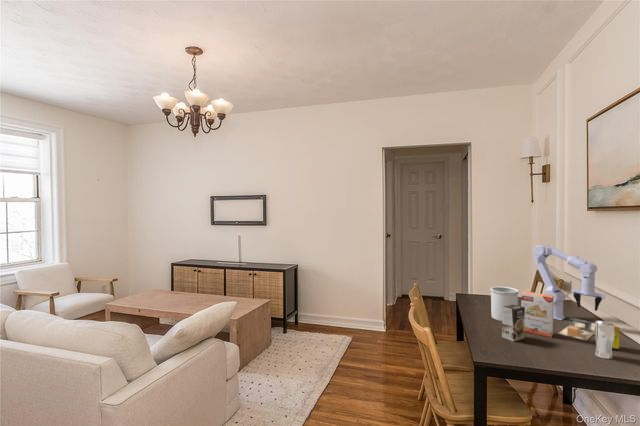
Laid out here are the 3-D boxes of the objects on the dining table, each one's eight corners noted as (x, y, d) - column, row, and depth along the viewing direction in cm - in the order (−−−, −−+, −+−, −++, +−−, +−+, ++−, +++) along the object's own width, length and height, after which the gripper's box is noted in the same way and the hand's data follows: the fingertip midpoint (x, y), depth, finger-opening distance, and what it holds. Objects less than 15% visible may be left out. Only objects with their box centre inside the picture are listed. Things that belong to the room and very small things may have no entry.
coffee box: (513, 342, 166) (514, 309, 166) (501, 337, 172) (502, 306, 172) (524, 338, 171) (525, 307, 170) (512, 334, 176) (513, 303, 176)
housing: (568, 327, 185) (568, 319, 185) (570, 326, 188) (571, 317, 188) (589, 332, 178) (589, 323, 178) (591, 330, 181) (591, 321, 181)
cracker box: (520, 331, 180) (521, 292, 180) (522, 328, 185) (523, 290, 185) (551, 338, 171) (552, 297, 171) (553, 334, 176) (554, 295, 175)
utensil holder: (491, 320, 197) (491, 290, 197) (488, 312, 211) (489, 285, 211) (520, 323, 192) (520, 293, 191) (515, 315, 206) (516, 287, 205)
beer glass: (589, 352, 154) (590, 320, 154) (603, 352, 155) (604, 320, 155) (603, 359, 148) (604, 326, 147) (618, 359, 148) (619, 325, 148)
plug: (573, 329, 183) (573, 323, 183) (582, 331, 180) (582, 325, 180) (567, 334, 176) (567, 327, 176) (576, 336, 173) (576, 330, 173)
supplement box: (619, 350, 157) (620, 327, 157) (604, 349, 159) (605, 326, 158) (611, 345, 163) (611, 322, 163) (597, 344, 164) (597, 321, 164)
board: (558, 333, 177) (558, 333, 177) (576, 320, 199) (576, 319, 199) (586, 340, 168) (586, 340, 168) (602, 325, 189) (602, 325, 189)
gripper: (570, 283, 191) (569, 306, 192) (602, 288, 180) (602, 313, 180) (573, 281, 196) (573, 304, 196) (606, 286, 184) (605, 310, 185)
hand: (587, 308), depth 188 cm, fingers open, 7 cm apart
